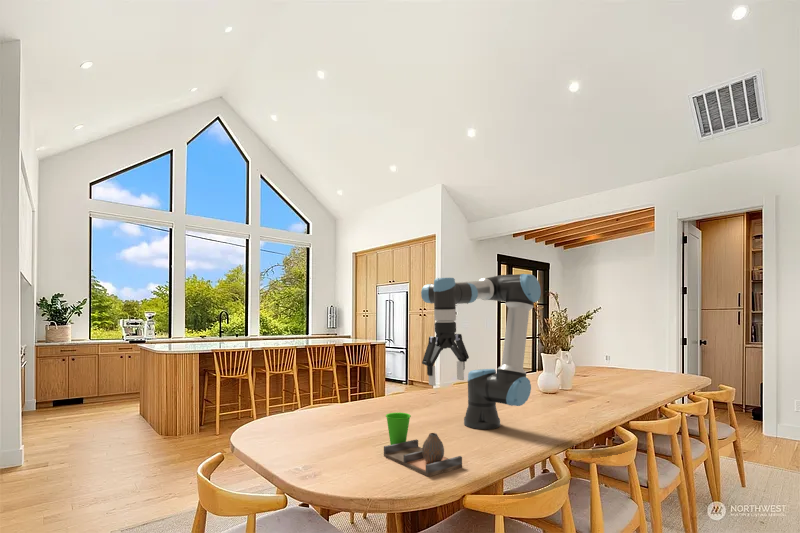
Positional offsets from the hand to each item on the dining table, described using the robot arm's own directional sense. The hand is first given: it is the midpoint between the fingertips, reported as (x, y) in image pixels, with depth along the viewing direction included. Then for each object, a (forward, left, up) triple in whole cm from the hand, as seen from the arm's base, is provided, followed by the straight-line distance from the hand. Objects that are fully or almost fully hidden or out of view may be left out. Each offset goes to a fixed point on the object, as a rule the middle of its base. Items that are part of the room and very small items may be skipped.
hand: (446, 382), depth 166 cm
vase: (+13, +8, -23) cm, 28 cm away
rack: (+14, +3, -24) cm, 27 cm away
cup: (+11, -14, -24) cm, 30 cm away
